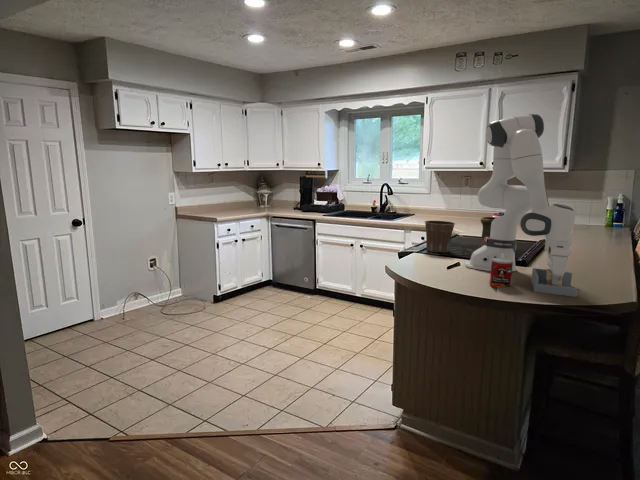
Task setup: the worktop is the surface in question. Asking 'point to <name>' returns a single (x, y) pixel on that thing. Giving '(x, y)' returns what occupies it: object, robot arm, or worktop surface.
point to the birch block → (549, 278)
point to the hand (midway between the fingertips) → (553, 282)
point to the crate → (540, 285)
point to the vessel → (486, 227)
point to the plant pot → (438, 235)
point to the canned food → (501, 272)
